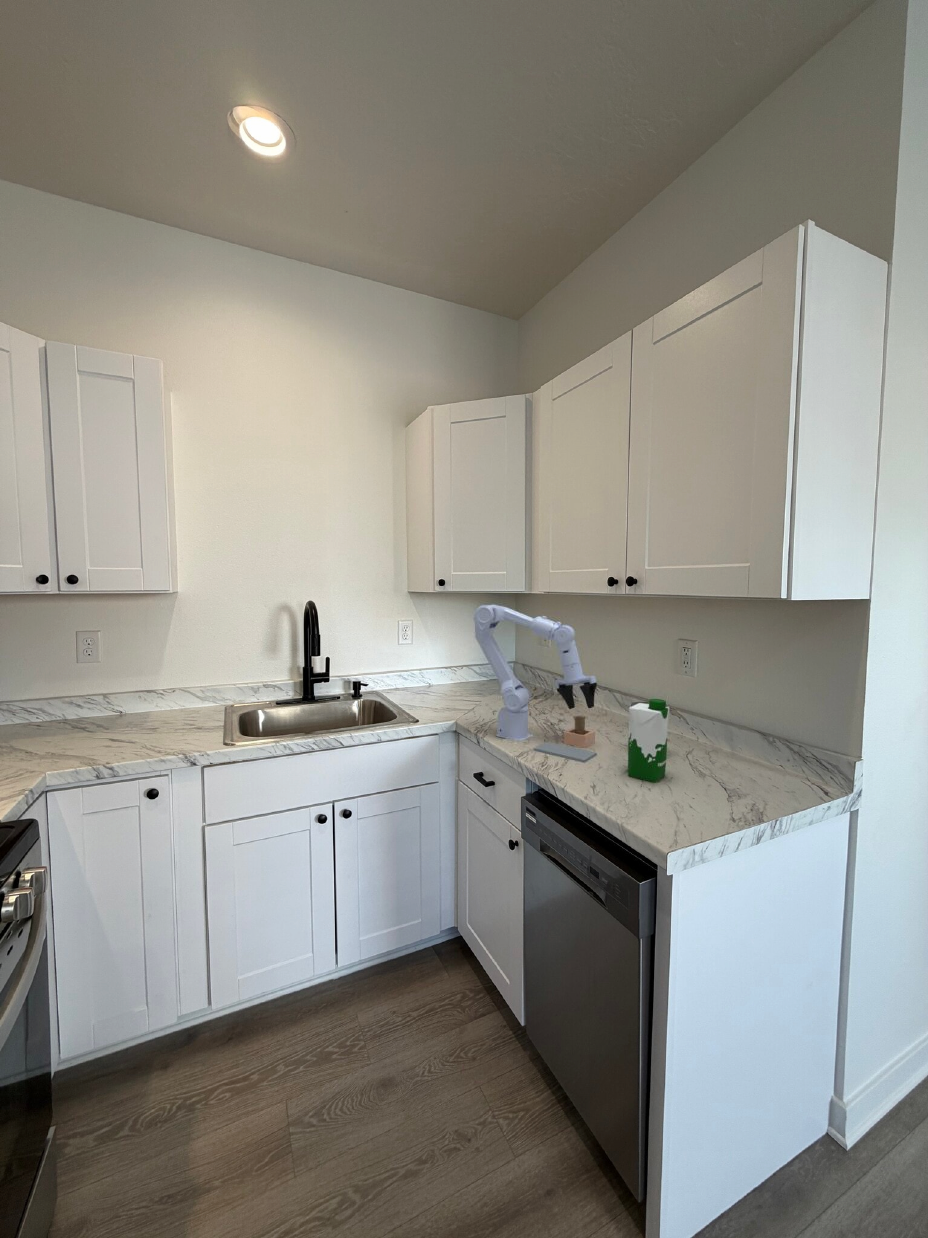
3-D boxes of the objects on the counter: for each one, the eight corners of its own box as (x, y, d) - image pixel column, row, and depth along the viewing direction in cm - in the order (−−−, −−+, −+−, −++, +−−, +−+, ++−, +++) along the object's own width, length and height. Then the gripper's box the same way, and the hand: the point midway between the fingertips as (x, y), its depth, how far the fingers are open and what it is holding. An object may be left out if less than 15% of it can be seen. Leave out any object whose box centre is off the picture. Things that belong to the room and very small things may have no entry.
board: (533, 752, 151) (533, 748, 151) (547, 745, 157) (547, 741, 157) (584, 764, 141) (584, 760, 141) (596, 757, 147) (596, 752, 147)
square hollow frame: (563, 744, 158) (564, 732, 158) (573, 739, 164) (574, 727, 163) (584, 749, 154) (585, 736, 154) (594, 744, 159) (595, 731, 159)
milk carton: (658, 785, 127) (661, 705, 126) (622, 776, 133) (625, 699, 131) (669, 775, 134) (672, 699, 132) (635, 767, 139) (637, 694, 138)
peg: (572, 743, 158) (573, 717, 158) (576, 740, 161) (577, 715, 160) (581, 745, 157) (582, 719, 156) (585, 742, 159) (586, 717, 158)
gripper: (597, 659, 154) (608, 703, 154) (561, 663, 166) (571, 705, 165) (583, 664, 150) (594, 709, 149) (547, 668, 161) (557, 711, 161)
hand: (581, 707), depth 157 cm, fingers open, 7 cm apart
